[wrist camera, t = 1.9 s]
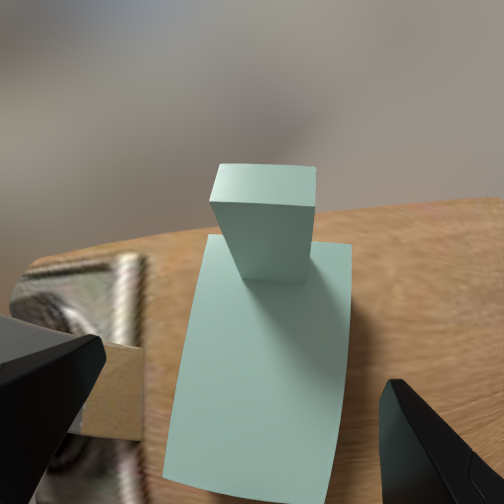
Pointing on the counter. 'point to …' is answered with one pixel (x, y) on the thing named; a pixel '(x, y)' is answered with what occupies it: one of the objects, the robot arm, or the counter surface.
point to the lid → (263, 345)
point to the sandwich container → (105, 389)
